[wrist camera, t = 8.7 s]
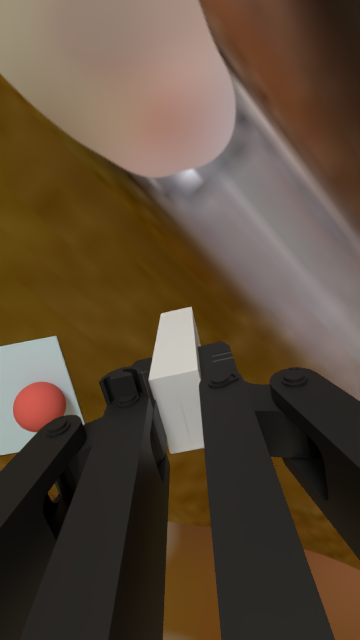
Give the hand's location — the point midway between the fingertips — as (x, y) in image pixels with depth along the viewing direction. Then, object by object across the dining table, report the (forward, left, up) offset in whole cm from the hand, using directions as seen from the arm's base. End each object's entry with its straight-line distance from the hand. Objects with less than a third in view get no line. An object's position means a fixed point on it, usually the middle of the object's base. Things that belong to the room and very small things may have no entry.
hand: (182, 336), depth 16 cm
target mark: (+22, +12, -21) cm, 32 cm away
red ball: (+18, +12, -18) cm, 28 cm away
